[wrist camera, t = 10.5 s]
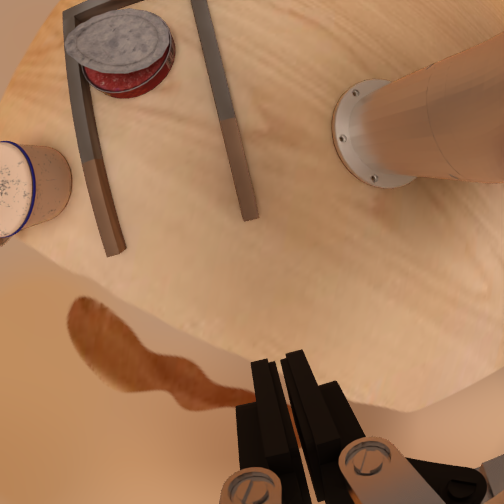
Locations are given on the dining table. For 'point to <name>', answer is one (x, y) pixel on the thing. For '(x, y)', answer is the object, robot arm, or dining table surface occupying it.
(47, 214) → the teacup with lid
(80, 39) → the canned food
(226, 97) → the can dock
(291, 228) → the dining table surface
